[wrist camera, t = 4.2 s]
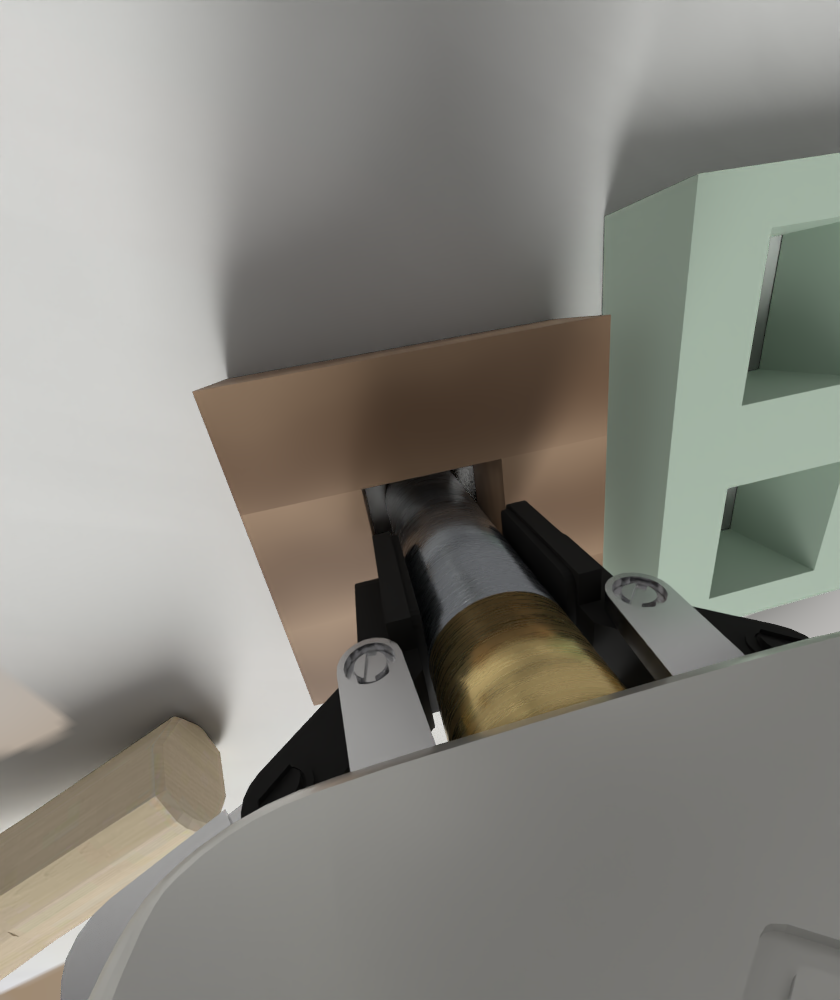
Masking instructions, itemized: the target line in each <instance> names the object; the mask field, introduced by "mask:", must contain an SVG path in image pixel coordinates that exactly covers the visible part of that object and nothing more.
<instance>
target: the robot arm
mask: <svg viewBox="0 0 840 1000" xmlns="http://www.w3.org/2000/svg"><path fill="white" fill-rule="evenodd" d="M501 523H502V535H503V537H504V538H505V539H506V540H507V542H508V543H509V544H510V545H511V546H512V548H513V549H514V550H515V551H516V553H517V554H518V555H519V556H520V558H521V559H522V560H523V561H524V563H525V564H526V565H527V566H528V567H529V569H530V570H531V571H532V572H533V574H534V575H535V576H536V577H537V579H538V580H539V581H540V582H541V584H542V585H543V586H544V587H545V588H546V590H547V591H548V592H549V593H550V595H551V596H552V597H553V598H554V600H555V601H556V602H557V603H558V604H559V606H560V607H561V608H562V609H563V611H564V612H565V613H566V614H567V616H568V617H569V618H570V619H571V621H572V622H573V623H574V624H575V625H576V627H577V628H578V629H579V630H580V632H581V633H582V634H583V635H584V637H585V638H586V639H587V640H588V642H589V643H590V644H591V645H592V646H593V648H594V649H595V650H596V651H597V653H598V654H599V655H600V656H601V658H602V659H603V660H604V661H605V662H606V664H607V665H608V666H609V667H610V669H611V670H612V671H613V672H614V674H615V675H616V676H617V677H618V679H619V680H620V681H621V682H622V683H623V685H624V686H625V687H626V688H627V689H626V690H622V691H619V692H615V693H612V694H608V695H605V696H602V697H598V698H595V699H591V700H588V701H584V702H581V703H578V704H574V705H571V706H567V707H564V708H560V709H557V710H554V711H550V712H547V713H543V714H540V715H537V716H533V717H530V718H526V719H523V720H520V721H516V722H513V723H509V724H506V725H503V726H499V727H496V728H493V729H489V730H486V731H483V732H479V733H476V734H473V735H469V736H466V737H463V738H459V739H456V740H452V741H449V742H446V743H442V744H439V745H436V744H435V741H434V738H433V736H432V733H431V731H432V730H433V728H435V724H434V719H433V715H432V713H435V712H438V711H440V710H439V706H438V702H437V698H436V695H435V691H434V687H433V683H432V679H431V676H430V672H429V665H428V660H429V654H428V649H427V644H426V639H425V634H424V629H423V624H422V620H421V616H420V612H419V608H418V604H417V601H416V597H415V594H414V590H413V587H412V583H411V580H410V576H409V573H408V569H407V566H406V562H405V559H404V555H403V551H402V548H401V544H400V541H399V537H398V534H397V535H393V536H391V535H390V531H389V532H385V533H381V534H376V535H372V540H373V546H374V553H375V559H376V566H377V572H378V578H377V579H372V580H368V581H364V582H360V583H356V584H355V605H356V624H357V643H356V644H355V645H353V646H352V647H351V648H349V649H348V650H347V651H346V652H345V653H344V654H343V655H342V657H341V658H340V660H339V663H338V665H337V681H338V689H337V690H336V691H335V692H334V693H333V694H332V695H331V696H330V697H329V698H328V699H327V700H326V702H325V703H324V704H323V705H322V706H321V707H320V708H319V709H318V710H317V711H316V712H315V713H314V714H313V716H312V717H311V718H310V719H309V720H308V721H307V722H306V723H305V724H304V725H303V726H302V727H301V728H300V730H299V731H298V732H297V733H296V734H295V735H294V736H293V737H292V738H291V739H290V740H289V741H288V742H287V744H286V745H285V746H284V747H283V748H282V749H281V750H280V751H279V752H278V753H277V754H276V755H275V756H274V757H273V759H272V760H271V761H270V762H269V763H268V764H267V765H266V766H265V767H264V768H263V769H262V770H261V771H260V773H259V774H258V775H257V776H256V778H255V779H254V780H253V782H252V783H251V784H250V786H249V788H248V790H247V792H246V795H245V797H244V799H243V804H242V805H240V806H239V807H238V808H236V809H235V810H234V811H233V812H231V813H230V814H229V815H228V813H227V811H226V810H224V811H222V812H221V813H220V814H219V815H217V816H216V817H215V818H213V819H212V820H211V821H209V822H208V823H207V824H206V825H204V826H203V827H202V828H200V829H199V830H198V831H197V832H195V833H194V834H193V835H191V836H190V837H189V838H188V839H186V840H185V841H184V842H182V843H181V844H180V845H178V846H177V847H176V848H175V849H173V850H172V851H171V852H169V853H168V854H167V855H166V856H164V857H163V858H162V859H160V860H159V861H158V862H157V863H155V864H154V865H153V866H151V867H150V868H149V869H147V870H146V871H145V872H144V873H142V874H141V875H140V876H138V877H137V878H136V879H135V880H133V881H132V882H131V883H129V884H128V885H127V886H126V887H124V888H123V889H122V890H120V891H119V892H118V893H116V894H115V895H114V896H113V897H111V898H110V899H109V900H108V901H107V902H106V903H105V904H104V905H103V906H102V907H101V908H100V909H99V910H97V911H96V912H95V913H94V914H93V916H92V917H91V918H90V920H89V921H88V922H87V924H86V925H85V926H84V928H83V929H82V930H81V932H80V933H79V934H78V936H77V938H76V940H75V942H74V944H73V946H72V948H71V950H70V952H69V954H68V956H67V958H66V962H65V966H64V971H63V975H62V980H61V1000H840V632H835V633H832V634H827V635H822V636H817V637H813V638H808V637H807V636H805V635H803V634H801V633H798V632H797V631H794V630H792V629H789V628H786V627H782V626H779V625H775V624H771V623H766V622H761V621H757V620H752V619H748V618H743V617H739V616H734V615H730V614H725V613H721V612H716V611H712V610H707V609H702V608H698V607H693V606H691V605H690V604H689V603H688V602H687V601H686V600H685V599H684V598H683V597H682V596H681V595H680V594H678V593H677V592H676V591H675V590H674V589H673V588H672V587H671V586H670V585H668V584H667V583H666V582H664V581H663V580H661V579H659V578H656V577H654V576H651V575H647V574H643V573H633V572H631V573H621V574H618V575H615V576H613V575H612V574H610V573H609V572H608V571H607V570H606V569H605V568H604V567H603V566H601V565H600V564H599V563H598V562H597V561H596V560H595V559H593V558H592V557H591V556H590V555H589V554H588V553H587V552H585V551H584V550H583V549H582V548H581V547H580V546H579V545H578V544H576V543H575V542H574V541H573V540H572V539H571V538H570V537H568V536H567V535H566V534H563V533H562V532H560V531H559V530H558V529H557V528H556V527H555V526H554V525H553V524H552V523H550V522H549V521H548V520H547V519H546V518H545V517H544V516H543V515H541V514H540V513H539V512H538V511H537V510H536V509H535V508H534V507H532V506H531V505H530V504H529V503H528V502H527V501H525V500H523V501H519V502H515V503H510V504H507V505H506V509H505V510H502V511H501Z"/></svg>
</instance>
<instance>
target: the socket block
mask: <svg viewBox="0 0 840 1000" xmlns="http://www.w3.org/2000/svg"><path fill="white" fill-rule="evenodd" d="M610 329H611V315H599V316H587V317H575V318H563V319H552V320H546V321H541V322H536V323H530V324H525V325H519V326H514V327H508V328H503V329H497V330H492V331H486V332H481V333H475V334H470V335H464V336H459V337H454V338H448V339H443V340H437V341H432V342H426V343H421V344H415V345H410V346H404V347H399V348H393V349H388V350H382V351H377V352H372V353H366V354H361V355H355V356H350V357H344V358H339V359H333V360H328V361H322V362H317V363H311V364H306V365H300V366H295V367H290V368H284V369H279V370H273V371H268V372H262V373H257V374H251V375H246V376H240V377H235V378H229V379H226V380H223V381H220V382H217V383H215V384H212V385H209V386H207V387H204V388H201V389H198V390H196V391H193V395H194V398H195V400H196V403H197V405H198V408H199V410H200V413H201V416H202V418H203V421H204V423H205V426H206V428H207V431H208V434H209V436H210V439H211V441H212V444H213V447H214V449H215V452H216V454H217V457H218V459H219V462H220V465H221V467H222V470H223V472H224V475H225V477H226V480H227V483H228V485H229V488H230V490H231V493H232V495H233V498H234V501H235V503H236V506H237V508H238V511H239V513H240V516H241V519H242V521H243V524H244V526H245V529H246V532H247V534H248V537H249V539H250V542H251V544H252V547H253V550H254V552H255V555H256V557H257V560H258V562H259V565H260V568H261V570H262V573H263V575H264V578H265V580H266V583H267V586H268V588H269V591H270V593H271V596H272V598H273V601H274V604H275V606H276V609H277V611H278V614H279V617H280V619H281V622H282V624H283V627H284V629H285V632H286V635H287V637H288V640H289V642H290V645H291V647H292V650H293V653H294V655H295V658H296V660H297V663H298V665H299V668H300V671H301V673H302V676H303V678H304V681H305V683H306V686H307V689H308V691H309V694H310V696H311V699H312V702H313V704H314V706H315V705H318V704H322V703H325V702H326V700H327V699H328V698H329V697H330V696H331V695H332V694H333V693H334V692H335V691H336V690H337V689H338V681H337V665H338V663H339V660H340V658H341V657H342V655H343V654H344V653H345V652H346V651H347V650H348V649H349V648H351V647H352V646H353V645H355V644H356V643H357V624H356V605H355V584H356V583H360V582H364V581H368V580H372V579H377V578H378V572H377V566H376V559H375V553H374V546H373V540H372V535H375V531H374V527H373V522H372V518H371V514H370V510H369V506H368V501H367V497H366V493H365V488H370V487H374V486H379V485H384V484H388V483H393V482H397V481H402V480H406V479H411V478H416V477H420V476H425V475H429V474H434V473H439V472H443V471H448V470H452V469H457V468H461V467H466V466H471V465H473V469H474V478H475V487H476V496H477V505H478V506H479V507H480V508H481V509H482V511H483V512H484V513H485V514H486V516H487V517H488V518H489V519H490V521H491V522H492V523H493V524H494V526H495V527H496V528H497V529H498V530H499V532H500V533H501V534H502V523H501V511H502V510H505V509H506V505H507V504H510V503H515V502H519V501H523V500H525V501H527V502H528V503H529V504H530V505H531V506H532V507H534V508H535V509H536V510H537V511H538V512H539V513H540V514H541V515H543V516H544V517H545V518H546V519H547V520H548V521H549V522H550V523H552V524H553V525H554V526H555V527H556V528H557V529H558V530H559V531H560V532H562V533H563V534H566V535H567V536H568V537H570V538H571V539H572V540H573V541H574V542H575V543H576V544H578V545H579V546H580V547H581V548H582V549H583V550H584V551H585V552H587V553H588V554H589V555H590V556H591V557H592V558H593V559H595V560H596V561H597V562H598V563H599V564H600V565H601V566H603V543H604V512H605V482H606V451H607V420H608V390H609V359H610Z"/></svg>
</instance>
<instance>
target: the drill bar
mask: <svg viewBox="0 0 840 1000" xmlns="http://www.w3.org/2000/svg"><path fill="white" fill-rule="evenodd" d="M385 503H386V508H387V512H388V516H389V520H390V523H391V527H392V531H393V535H397V534H398V537H399V541H400V544H401V548H402V551H403V555H404V559H405V562H406V566H407V569H408V573H409V576H410V580H411V583H412V587H413V590H414V594H415V597H416V601H417V604H418V608H419V612H420V616H421V620H422V624H423V629H424V634H425V639H426V644H427V649H428V654H429V660H428V665H429V672H430V676H431V679H432V683H433V687H434V691H435V695H436V698H437V702H438V706H439V710H440V714H441V717H442V721H443V725H444V729H445V733H446V736H447V740H448V742H449V741H452V740H456V739H459V738H463V737H466V736H469V735H473V734H476V733H479V732H483V731H486V730H489V729H493V728H496V727H499V726H503V725H506V724H509V723H513V722H516V721H520V720H523V719H526V718H530V717H533V716H537V715H540V714H543V713H547V712H550V711H554V710H557V709H560V708H564V707H567V706H571V705H574V704H578V703H581V702H584V701H588V700H591V699H595V698H598V697H602V696H605V695H608V694H612V693H615V692H619V691H622V690H626V689H627V688H626V687H625V686H624V685H623V683H622V682H621V681H620V680H619V679H618V677H617V676H616V675H615V674H614V672H613V671H612V670H611V669H610V667H609V666H608V665H607V664H606V662H605V661H604V660H603V659H602V658H601V656H600V655H599V654H598V653H597V651H596V650H595V649H594V648H593V646H592V645H591V644H590V643H589V642H588V640H587V639H586V638H585V637H584V635H583V634H582V633H581V632H580V630H579V629H578V628H577V627H576V625H575V624H574V623H573V622H572V621H571V619H570V618H569V617H568V616H567V614H566V613H565V612H564V611H563V609H562V608H561V607H560V606H559V604H558V603H557V602H556V601H555V600H554V598H553V597H552V596H551V595H550V593H549V592H548V591H547V590H546V588H545V587H544V586H543V585H542V584H541V582H540V581H539V580H538V579H537V577H536V576H535V575H534V574H533V572H532V571H531V570H530V569H529V567H528V566H527V565H526V564H525V563H524V561H523V560H522V559H521V558H520V556H519V555H518V554H517V553H516V551H515V550H514V549H513V548H512V546H511V545H510V544H509V543H508V542H507V540H506V539H505V538H504V537H503V535H502V534H501V533H500V532H499V530H498V529H497V528H496V527H495V526H494V524H493V523H492V522H491V521H490V519H489V518H488V517H487V516H486V514H485V513H484V512H483V511H482V509H481V508H480V507H479V506H478V505H477V503H476V502H475V501H474V500H473V498H472V497H471V496H470V495H469V493H468V492H467V491H466V490H465V488H464V487H463V486H462V485H461V484H460V482H459V481H458V480H457V479H456V477H455V476H454V475H453V474H452V473H451V472H450V471H449V470H448V471H443V472H439V473H434V474H429V475H425V476H420V477H416V478H411V479H406V480H402V481H397V482H393V483H389V485H388V488H387V491H386V496H385Z"/></svg>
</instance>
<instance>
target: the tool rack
mask: <svg viewBox="0 0 840 1000" xmlns="http://www.w3.org/2000/svg"><path fill="white" fill-rule="evenodd" d="M779 235H783V238H782V244H781V250H780V255H779V261H778V266H777V272H776V277H775V283H774V288H773V294H772V299H771V305H770V310H769V316H768V321H767V327H766V333H765V338H764V344H763V349H762V355H761V360H760V366H759V369H757V370H752V371H748V366H749V360H750V354H751V348H752V342H753V336H754V331H755V325H756V319H757V313H758V307H759V301H760V295H761V289H762V283H763V278H764V272H765V266H766V260H767V254H768V248H769V242H770V237H773V236H779ZM602 315H611V329H610V359H609V390H608V420H607V451H606V482H605V512H604V543H603V567H604V568H605V569H606V570H607V571H608V572H609V573H610V574H612V575H613V576H615V575H618V574H621V573H631V572H633V573H643V574H647V575H651V576H654V577H656V578H659V579H661V580H663V581H664V582H666V583H667V584H668V585H670V586H671V587H672V588H673V589H674V590H675V591H676V592H677V593H678V594H680V595H681V596H682V597H683V598H684V599H685V600H686V601H687V602H688V603H689V604H690V605H691V606H693V607H698V608H702V609H707V610H712V611H716V612H721V613H725V614H730V615H734V616H739V617H742V616H745V615H749V614H752V613H756V612H760V611H763V610H767V609H770V608H774V607H777V606H781V605H785V604H788V603H792V602H795V601H799V600H802V599H806V598H810V597H813V596H816V595H820V594H824V593H827V592H831V591H835V590H838V589H840V153H834V154H827V155H821V156H814V157H807V158H800V159H794V160H787V161H780V162H773V163H767V164H760V165H753V166H746V167H740V168H733V169H726V170H720V171H713V172H706V173H699V174H697V175H694V176H692V177H690V178H688V179H686V180H683V181H681V182H679V183H677V184H675V185H672V186H670V187H668V188H666V189H664V190H662V191H659V192H657V193H655V194H653V195H651V196H648V197H646V198H644V199H642V200H640V201H637V202H635V203H633V204H631V205H629V206H627V207H624V208H622V209H620V210H618V211H616V212H613V213H611V214H609V215H607V216H605V221H604V262H603V303H602ZM736 486H738V488H737V493H736V499H735V504H734V510H733V515H732V521H731V526H730V529H728V530H724V531H721V525H722V519H723V513H724V507H725V501H726V495H727V490H728V488H732V487H736Z"/></svg>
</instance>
